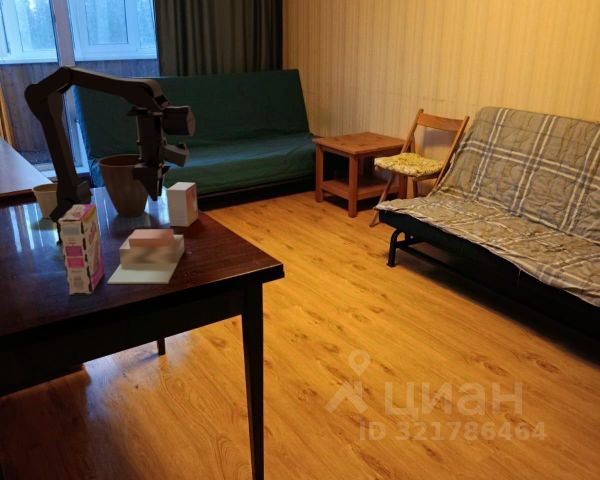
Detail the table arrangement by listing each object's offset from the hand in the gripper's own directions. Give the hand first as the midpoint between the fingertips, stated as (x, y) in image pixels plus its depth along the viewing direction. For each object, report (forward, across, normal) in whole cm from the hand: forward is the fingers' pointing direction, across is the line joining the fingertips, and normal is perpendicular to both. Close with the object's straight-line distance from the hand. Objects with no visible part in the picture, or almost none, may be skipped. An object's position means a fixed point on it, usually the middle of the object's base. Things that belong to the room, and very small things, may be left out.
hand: (157, 198), depth 138 cm
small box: (+12, +17, -2) cm, 21 cm away
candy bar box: (+12, -23, +11) cm, 28 cm away
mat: (+12, -18, 0) cm, 22 cm away
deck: (+12, -8, 0) cm, 15 cm away
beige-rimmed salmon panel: (+8, -8, 0) cm, 12 cm away
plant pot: (+12, +25, +15) cm, 31 cm away
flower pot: (+12, +23, +36) cm, 45 cm away
